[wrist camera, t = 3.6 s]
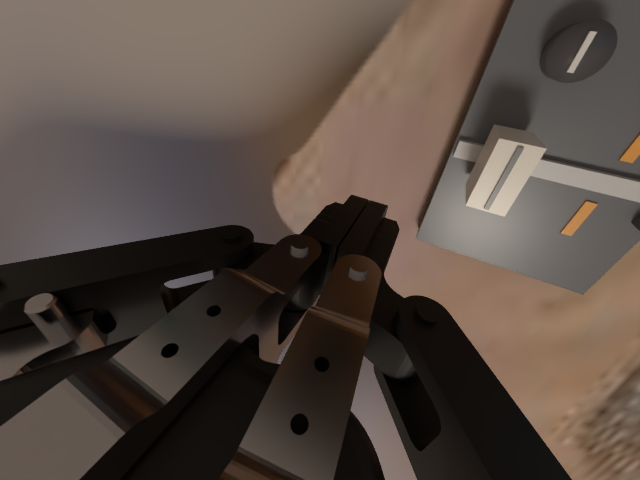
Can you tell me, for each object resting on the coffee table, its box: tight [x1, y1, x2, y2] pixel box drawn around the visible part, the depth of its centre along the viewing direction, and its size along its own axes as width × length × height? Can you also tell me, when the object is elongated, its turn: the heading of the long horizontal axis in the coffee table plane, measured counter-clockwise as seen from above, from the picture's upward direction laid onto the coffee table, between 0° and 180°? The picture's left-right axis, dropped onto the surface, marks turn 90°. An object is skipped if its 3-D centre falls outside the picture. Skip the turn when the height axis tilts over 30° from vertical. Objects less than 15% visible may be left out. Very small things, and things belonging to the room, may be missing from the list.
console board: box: [416, 0, 640, 294], centre depth 19 cm, size 18×14×4 cm
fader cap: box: [465, 124, 547, 217], centre depth 18 cm, size 4×2×4 cm, turn 173°
